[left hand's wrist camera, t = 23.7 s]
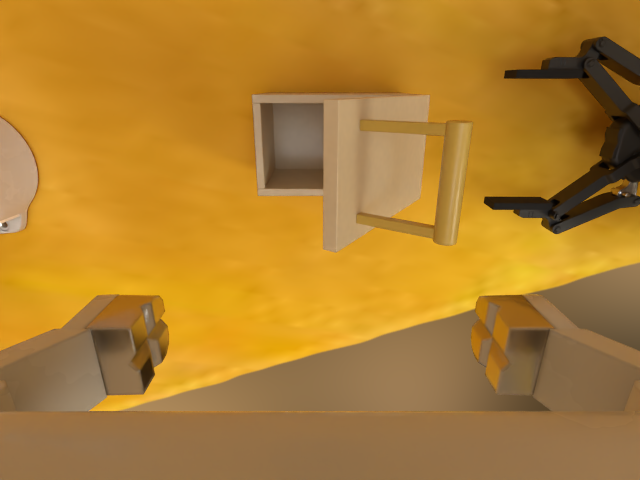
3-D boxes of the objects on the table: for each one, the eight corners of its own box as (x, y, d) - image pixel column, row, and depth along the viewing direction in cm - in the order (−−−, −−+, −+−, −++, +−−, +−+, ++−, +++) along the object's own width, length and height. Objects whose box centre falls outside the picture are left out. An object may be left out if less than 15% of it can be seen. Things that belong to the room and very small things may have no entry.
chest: (270, 173, 51) (257, 196, 40) (266, 92, 47) (251, 94, 37) (394, 173, 51) (413, 196, 40) (400, 92, 47) (423, 94, 37)
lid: (322, 249, 27) (439, 278, 23) (323, 99, 24) (461, 101, 19) (409, 196, 40) (494, 209, 36) (418, 94, 37) (513, 95, 32)
